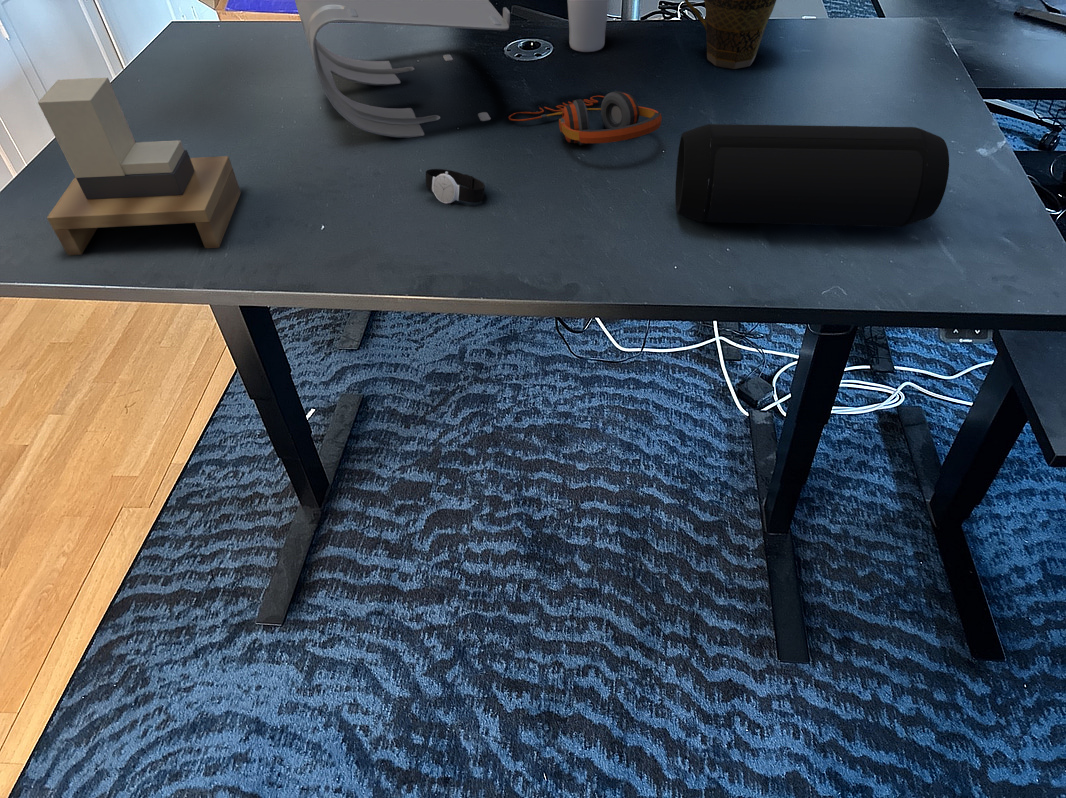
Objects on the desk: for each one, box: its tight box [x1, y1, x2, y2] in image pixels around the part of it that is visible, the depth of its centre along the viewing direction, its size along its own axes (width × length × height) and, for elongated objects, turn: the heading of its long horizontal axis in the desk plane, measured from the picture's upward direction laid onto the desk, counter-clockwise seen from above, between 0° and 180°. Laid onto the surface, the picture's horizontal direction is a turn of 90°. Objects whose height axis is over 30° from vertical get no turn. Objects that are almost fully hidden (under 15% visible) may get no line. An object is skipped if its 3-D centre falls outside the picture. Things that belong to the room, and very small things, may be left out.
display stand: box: [46, 155, 242, 256], centre depth 84 cm, size 16×11×5 cm
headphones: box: [508, 90, 663, 147], centre depth 96 cm, size 17×5×20 cm
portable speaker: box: [674, 123, 950, 228], centre depth 80 cm, size 26×10×10 cm, turn 85°
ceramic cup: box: [684, 0, 777, 70], centre depth 109 cm, size 13×10×10 cm
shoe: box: [37, 77, 195, 199], centre depth 78 cm, size 10×5×10 cm, turn 93°
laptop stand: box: [294, 0, 511, 139], centre depth 101 cm, size 26×24×16 cm
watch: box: [425, 168, 486, 204], centre depth 87 cm, size 8×5×4 cm, turn 56°
